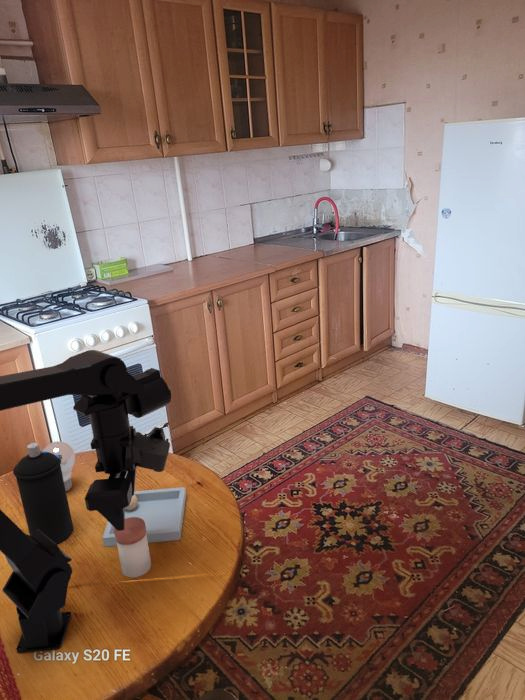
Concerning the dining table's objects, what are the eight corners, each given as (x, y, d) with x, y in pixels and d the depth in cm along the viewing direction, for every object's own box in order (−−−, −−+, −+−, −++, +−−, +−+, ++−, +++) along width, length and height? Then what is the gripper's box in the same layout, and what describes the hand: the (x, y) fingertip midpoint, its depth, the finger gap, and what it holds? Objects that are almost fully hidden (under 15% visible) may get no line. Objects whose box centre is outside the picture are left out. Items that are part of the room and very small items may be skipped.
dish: (180, 542, 99) (178, 531, 98) (104, 549, 99) (102, 538, 98) (186, 497, 112) (185, 487, 112) (119, 503, 112) (117, 492, 111)
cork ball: (137, 512, 108) (135, 499, 107) (121, 513, 108) (119, 500, 106) (140, 502, 111) (137, 489, 110) (124, 504, 111) (122, 491, 109)
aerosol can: (60, 553, 99) (39, 458, 92) (21, 548, 100) (-3, 455, 93) (83, 524, 106) (65, 435, 99) (46, 520, 108) (26, 432, 101)
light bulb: (66, 479, 122) (55, 433, 118) (88, 486, 119) (78, 438, 114) (41, 496, 116) (29, 448, 112) (64, 504, 113) (53, 454, 109)
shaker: (150, 579, 91) (142, 535, 88) (119, 581, 91) (110, 538, 88) (154, 557, 96) (147, 515, 93) (125, 560, 96) (117, 518, 93)
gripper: (155, 455, 76) (168, 545, 81) (169, 399, 93) (179, 476, 98) (75, 462, 75) (94, 552, 81) (104, 404, 93) (118, 481, 98)
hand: (126, 511), depth 89 cm, fingers open, 9 cm apart
